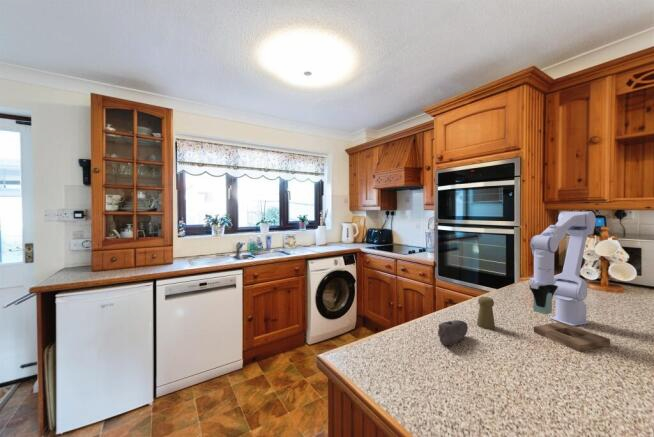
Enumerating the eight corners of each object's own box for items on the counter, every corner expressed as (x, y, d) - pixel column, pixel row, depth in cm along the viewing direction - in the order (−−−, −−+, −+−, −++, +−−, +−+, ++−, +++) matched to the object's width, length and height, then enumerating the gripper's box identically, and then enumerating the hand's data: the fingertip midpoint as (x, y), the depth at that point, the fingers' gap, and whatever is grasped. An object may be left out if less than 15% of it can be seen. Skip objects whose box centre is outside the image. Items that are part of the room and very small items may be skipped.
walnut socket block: (561, 327, 99) (561, 321, 99) (609, 345, 86) (610, 339, 86) (533, 332, 95) (533, 326, 95) (579, 351, 82) (579, 345, 82)
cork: (498, 330, 97) (498, 300, 97) (480, 328, 98) (480, 299, 98) (491, 323, 103) (491, 295, 103) (474, 322, 104) (474, 294, 104)
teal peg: (538, 309, 99) (538, 290, 99) (551, 312, 96) (551, 293, 95) (533, 311, 97) (533, 292, 97) (546, 314, 94) (546, 295, 94)
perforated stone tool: (459, 332, 96) (460, 313, 95) (474, 338, 91) (474, 318, 91) (432, 343, 88) (432, 322, 88) (446, 350, 84) (446, 328, 83)
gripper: (540, 264, 103) (539, 298, 103) (521, 268, 96) (520, 305, 96) (563, 267, 97) (562, 304, 97) (544, 272, 90) (544, 311, 90)
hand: (543, 305), depth 96 cm, fingers closed on teal peg, 4 cm apart
